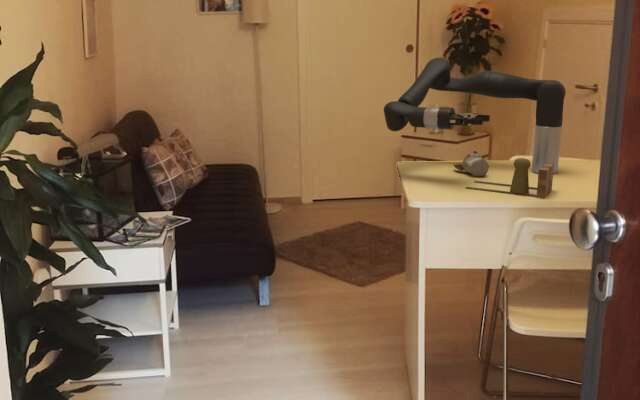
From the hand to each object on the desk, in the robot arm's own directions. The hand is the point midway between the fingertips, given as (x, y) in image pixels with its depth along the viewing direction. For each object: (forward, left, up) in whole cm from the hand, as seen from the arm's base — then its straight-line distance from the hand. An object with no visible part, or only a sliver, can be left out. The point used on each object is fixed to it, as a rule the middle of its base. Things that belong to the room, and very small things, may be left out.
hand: (486, 119), depth 237 cm
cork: (+6, +14, -22) cm, 27 cm away
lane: (+3, +9, -22) cm, 24 cm away
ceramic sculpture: (-15, -7, -22) cm, 28 cm away
